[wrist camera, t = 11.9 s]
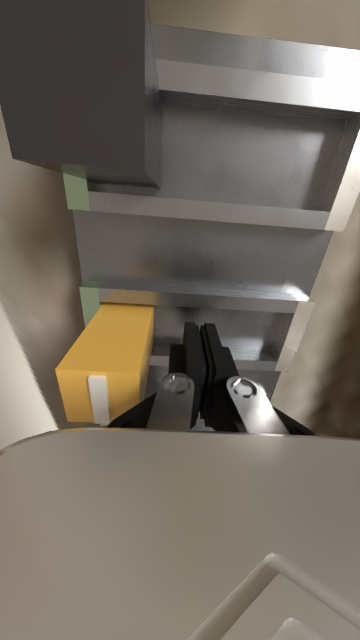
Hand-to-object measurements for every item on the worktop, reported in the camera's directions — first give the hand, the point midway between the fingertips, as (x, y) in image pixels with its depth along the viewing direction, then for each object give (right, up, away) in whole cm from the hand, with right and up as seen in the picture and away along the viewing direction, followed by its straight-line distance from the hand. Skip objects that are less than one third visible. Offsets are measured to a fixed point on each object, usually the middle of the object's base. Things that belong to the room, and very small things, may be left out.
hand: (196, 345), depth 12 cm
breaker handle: (-4, +1, +2) cm, 5 cm away
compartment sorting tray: (0, +2, +4) cm, 4 cm away
